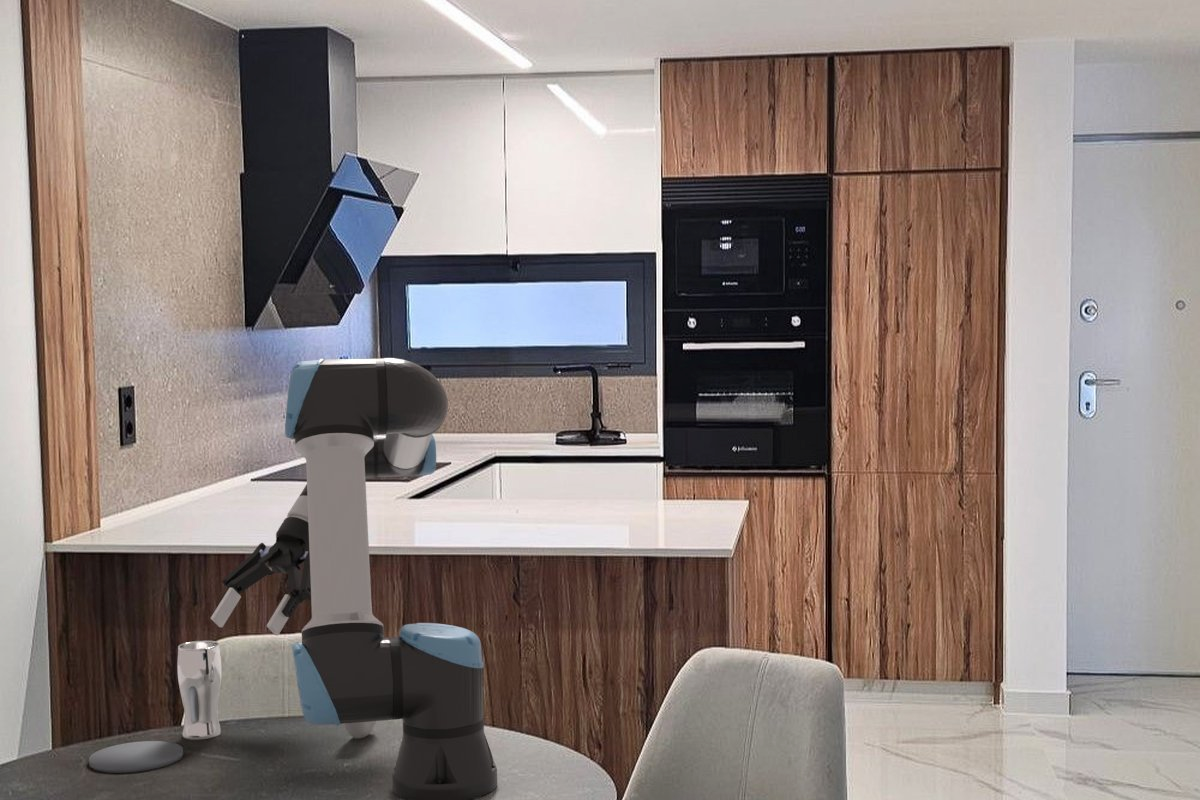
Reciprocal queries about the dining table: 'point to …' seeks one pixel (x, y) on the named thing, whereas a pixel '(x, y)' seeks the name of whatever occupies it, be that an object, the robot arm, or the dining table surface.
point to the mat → (135, 756)
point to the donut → (359, 728)
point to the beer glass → (200, 688)
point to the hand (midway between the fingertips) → (243, 627)
